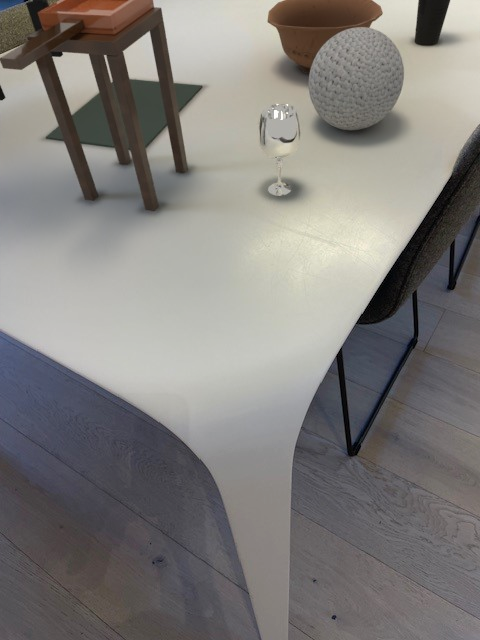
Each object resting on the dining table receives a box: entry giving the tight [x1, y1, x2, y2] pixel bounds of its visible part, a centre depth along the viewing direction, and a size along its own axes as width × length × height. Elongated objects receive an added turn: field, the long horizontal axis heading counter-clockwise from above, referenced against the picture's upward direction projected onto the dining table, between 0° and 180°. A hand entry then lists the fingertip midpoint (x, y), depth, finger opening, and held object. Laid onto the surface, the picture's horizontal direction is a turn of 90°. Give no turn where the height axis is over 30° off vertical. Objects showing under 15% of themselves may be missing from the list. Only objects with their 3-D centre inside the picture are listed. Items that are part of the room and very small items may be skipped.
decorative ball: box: [308, 27, 405, 131], centre depth 80 cm, size 15×15×15 cm
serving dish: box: [0, 0, 155, 71], centre depth 57 cm, size 10×22×2 cm, turn 160°
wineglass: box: [257, 103, 301, 197], centre depth 69 cm, size 6×6×12 cm
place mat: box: [45, 78, 203, 151], centre depth 95 cm, size 20×26×1 cm
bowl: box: [267, 0, 384, 75], centre depth 98 cm, size 22×22×11 cm
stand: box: [26, 6, 189, 212], centre depth 69 cm, size 12×12×23 cm
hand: (26, 75), depth 65 cm, fingers open, 13 cm apart
